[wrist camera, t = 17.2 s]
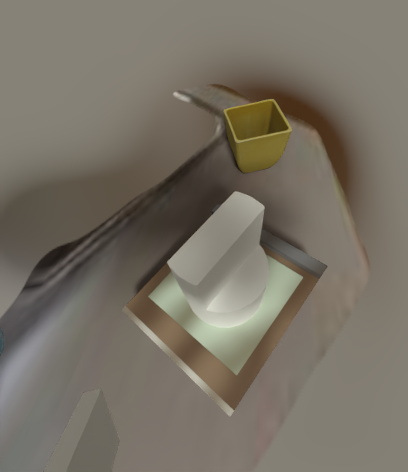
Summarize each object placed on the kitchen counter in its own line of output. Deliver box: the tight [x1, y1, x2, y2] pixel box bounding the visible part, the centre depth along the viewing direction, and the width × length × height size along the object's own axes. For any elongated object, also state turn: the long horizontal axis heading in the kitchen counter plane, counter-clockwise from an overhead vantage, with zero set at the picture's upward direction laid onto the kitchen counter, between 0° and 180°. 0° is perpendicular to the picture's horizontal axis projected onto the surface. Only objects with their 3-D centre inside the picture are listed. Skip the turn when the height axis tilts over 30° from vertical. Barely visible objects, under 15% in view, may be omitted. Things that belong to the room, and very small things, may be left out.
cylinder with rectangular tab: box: [167, 191, 269, 328], centre depth 25 cm, size 9×9×12 cm
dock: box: [122, 204, 327, 416], centre depth 32 cm, size 16×19×6 cm
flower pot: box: [224, 99, 292, 173], centre depth 44 cm, size 9×9×9 cm
